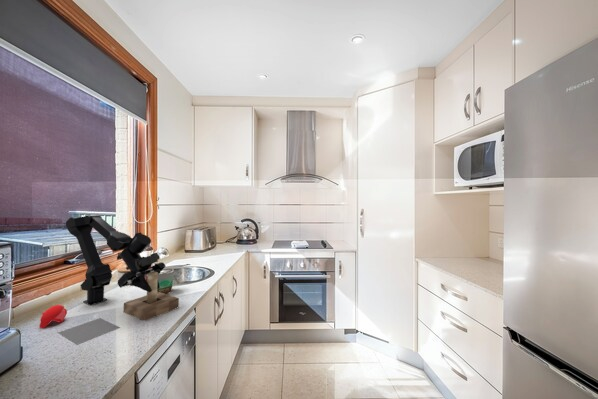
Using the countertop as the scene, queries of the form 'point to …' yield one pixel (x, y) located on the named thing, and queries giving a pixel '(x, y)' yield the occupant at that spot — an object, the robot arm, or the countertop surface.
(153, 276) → the peg
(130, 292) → the countertop surface
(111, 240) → the robot arm
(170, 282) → the food container
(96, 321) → the mat
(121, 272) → the lidded jar
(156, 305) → the hole block
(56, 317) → the cap
